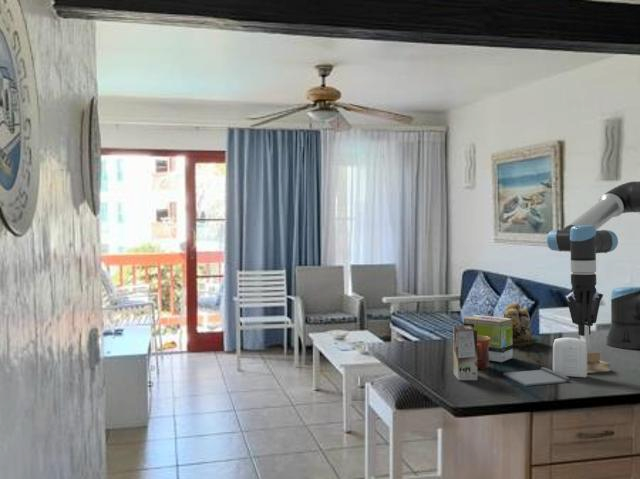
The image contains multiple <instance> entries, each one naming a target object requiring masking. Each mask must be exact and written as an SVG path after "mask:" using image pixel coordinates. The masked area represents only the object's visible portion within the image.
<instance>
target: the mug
mask: <svg viewBox="0 0 640 479" xmlns="http://www.w3.org/2000/svg"><path fill="white" fill-rule="evenodd" d="M490 341H491V338H490V337H488V336H482V335H477V370H485V369H487V368H489V363H490V360H489V344H490Z"/></svg>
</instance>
